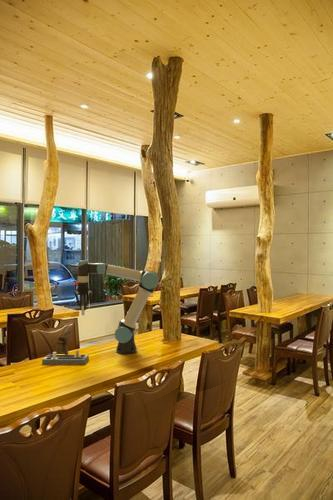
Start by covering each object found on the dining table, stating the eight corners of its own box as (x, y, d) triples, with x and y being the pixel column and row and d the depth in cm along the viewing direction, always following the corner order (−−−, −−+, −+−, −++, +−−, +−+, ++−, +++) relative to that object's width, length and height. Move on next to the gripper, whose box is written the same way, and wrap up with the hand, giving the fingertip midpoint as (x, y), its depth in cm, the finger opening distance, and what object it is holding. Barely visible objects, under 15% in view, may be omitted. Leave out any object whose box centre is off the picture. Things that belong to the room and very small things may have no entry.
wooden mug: (63, 357, 250) (63, 331, 251) (52, 353, 259) (52, 328, 259) (73, 354, 257) (74, 329, 257) (63, 351, 266) (63, 327, 266)
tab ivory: (58, 359, 239) (58, 351, 239) (56, 360, 236) (56, 353, 236) (52, 359, 239) (52, 351, 239) (50, 360, 236) (50, 353, 236)
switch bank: (88, 359, 246) (88, 354, 246) (84, 364, 234) (84, 359, 234) (48, 358, 246) (48, 354, 246) (42, 364, 234) (42, 359, 234)
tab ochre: (80, 357, 245) (80, 349, 245) (79, 358, 241) (79, 350, 241) (75, 357, 244) (75, 349, 245) (73, 358, 241) (73, 350, 241)
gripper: (93, 281, 258) (93, 314, 258) (75, 281, 258) (75, 314, 258) (91, 282, 251) (91, 315, 250) (72, 282, 251) (72, 316, 250)
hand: (83, 315), depth 254 cm, fingers closed
